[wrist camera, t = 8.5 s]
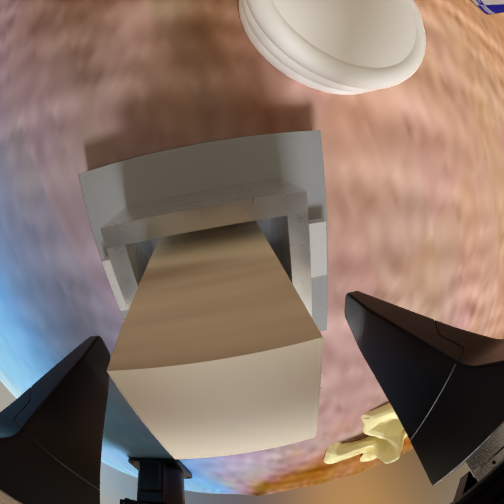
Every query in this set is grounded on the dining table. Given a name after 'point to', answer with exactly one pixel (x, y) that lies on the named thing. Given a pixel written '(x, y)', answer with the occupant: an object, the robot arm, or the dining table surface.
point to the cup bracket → (210, 216)
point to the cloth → (373, 438)
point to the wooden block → (219, 347)
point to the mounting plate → (215, 176)
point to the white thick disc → (338, 41)
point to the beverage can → (490, 6)
